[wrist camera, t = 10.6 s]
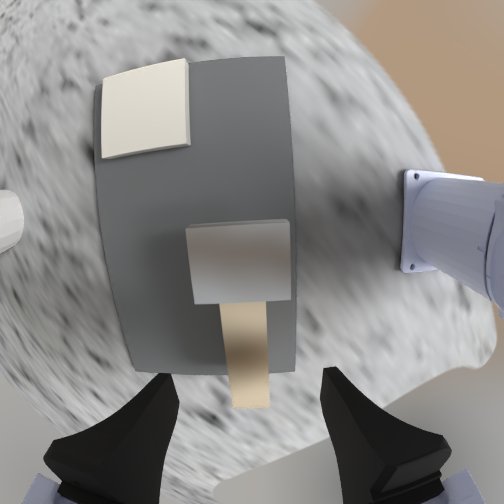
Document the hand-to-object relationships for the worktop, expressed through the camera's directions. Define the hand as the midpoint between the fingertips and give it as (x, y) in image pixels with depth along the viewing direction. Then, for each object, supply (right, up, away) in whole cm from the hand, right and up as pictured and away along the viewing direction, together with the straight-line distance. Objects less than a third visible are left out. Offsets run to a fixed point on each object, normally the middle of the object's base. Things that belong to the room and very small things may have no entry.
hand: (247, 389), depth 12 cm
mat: (-4, +8, +7) cm, 11 cm away
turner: (0, +3, +8) cm, 8 cm away
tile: (-7, +13, +4) cm, 15 cm away
